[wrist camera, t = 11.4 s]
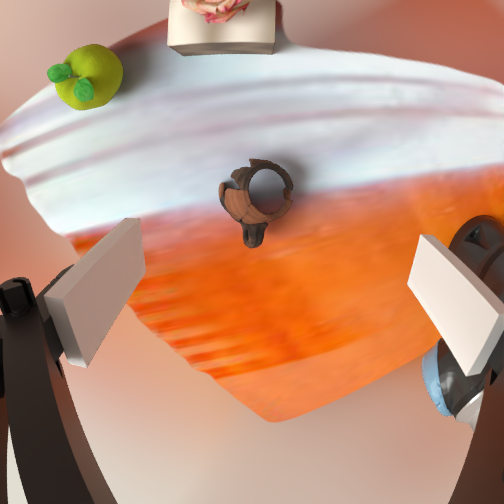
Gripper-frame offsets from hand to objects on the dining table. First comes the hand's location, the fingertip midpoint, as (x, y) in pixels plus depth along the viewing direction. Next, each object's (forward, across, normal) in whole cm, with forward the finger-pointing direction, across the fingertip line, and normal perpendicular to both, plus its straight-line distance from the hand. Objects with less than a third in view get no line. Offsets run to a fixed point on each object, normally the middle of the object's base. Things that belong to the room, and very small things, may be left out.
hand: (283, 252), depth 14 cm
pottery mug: (+31, +2, +6) cm, 32 cm away
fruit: (+31, +24, -12) cm, 41 cm away
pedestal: (+31, +6, -20) cm, 37 cm away
